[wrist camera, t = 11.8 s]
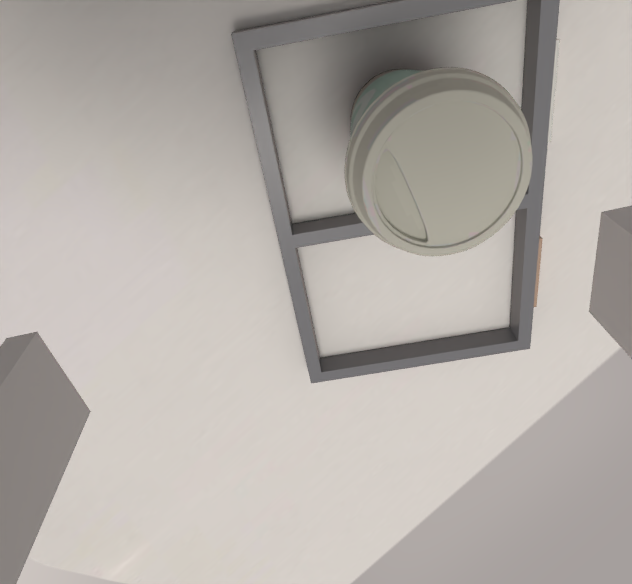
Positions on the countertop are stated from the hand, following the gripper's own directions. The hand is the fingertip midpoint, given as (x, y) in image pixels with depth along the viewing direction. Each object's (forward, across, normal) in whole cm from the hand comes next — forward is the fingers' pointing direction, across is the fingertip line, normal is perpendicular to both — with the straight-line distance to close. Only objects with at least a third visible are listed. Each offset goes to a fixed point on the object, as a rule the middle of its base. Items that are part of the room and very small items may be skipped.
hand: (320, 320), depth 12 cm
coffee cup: (+23, +6, -2) cm, 24 cm away
